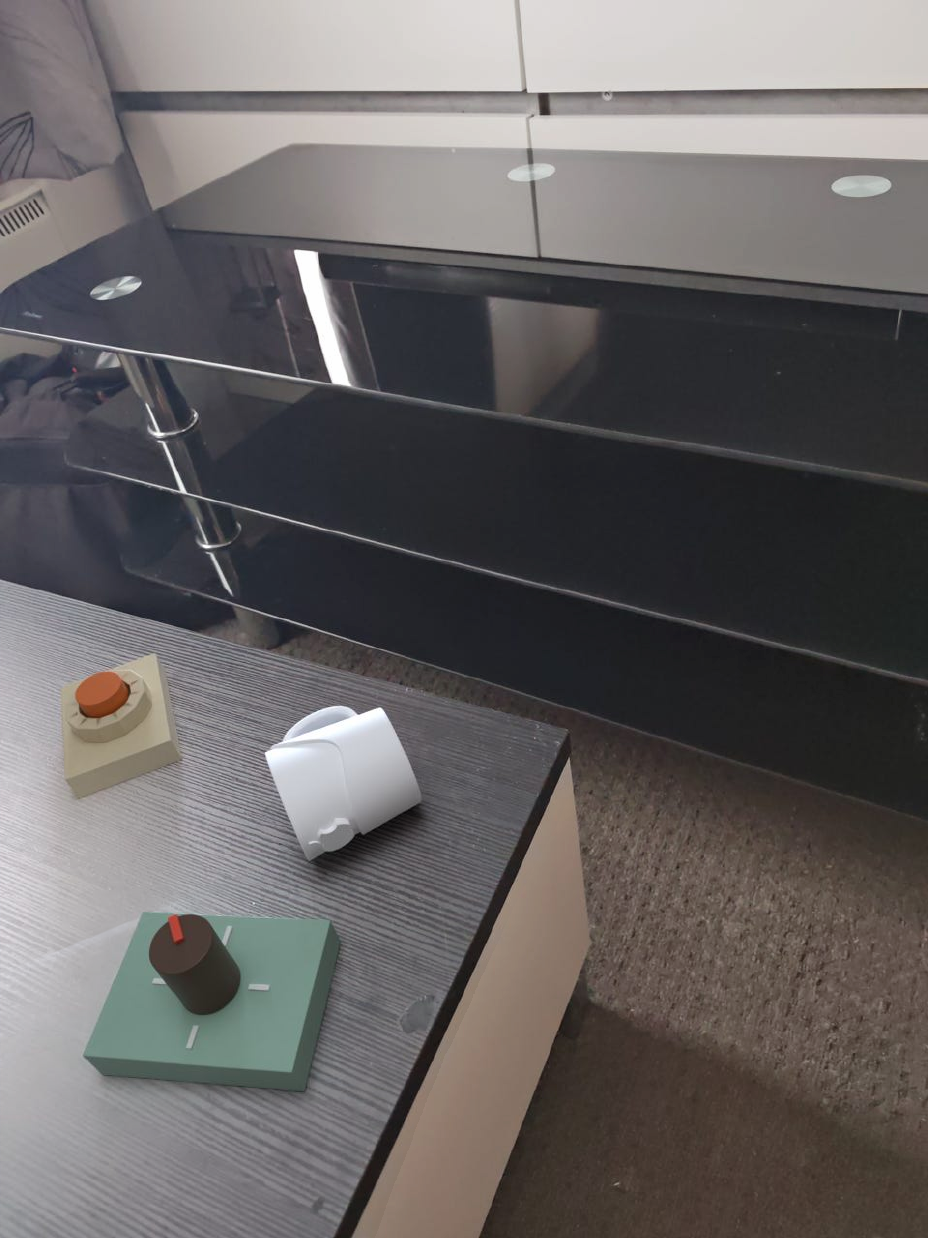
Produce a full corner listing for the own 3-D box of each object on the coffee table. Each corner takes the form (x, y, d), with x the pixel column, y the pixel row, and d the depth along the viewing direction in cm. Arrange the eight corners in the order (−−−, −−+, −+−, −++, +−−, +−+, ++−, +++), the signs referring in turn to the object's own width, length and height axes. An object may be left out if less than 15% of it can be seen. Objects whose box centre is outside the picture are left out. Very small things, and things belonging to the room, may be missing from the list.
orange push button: (130, 708, 79) (122, 694, 78) (84, 725, 78) (75, 711, 77) (127, 678, 82) (119, 665, 81) (82, 694, 81) (73, 681, 80)
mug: (433, 829, 70) (413, 763, 64) (318, 883, 68) (288, 820, 63) (379, 727, 78) (358, 661, 73) (276, 772, 76) (246, 708, 71)
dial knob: (247, 995, 59) (218, 951, 55) (188, 1027, 58) (153, 984, 54) (231, 945, 62) (202, 900, 58) (174, 974, 61) (140, 930, 57)
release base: (182, 760, 79) (162, 725, 76) (78, 799, 78) (54, 766, 75) (166, 672, 88) (148, 638, 85) (72, 706, 86) (51, 673, 83)
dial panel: (101, 1075, 60) (80, 1055, 58) (158, 932, 67) (141, 910, 65) (304, 1092, 57) (290, 1071, 55) (341, 941, 64) (330, 918, 62)
